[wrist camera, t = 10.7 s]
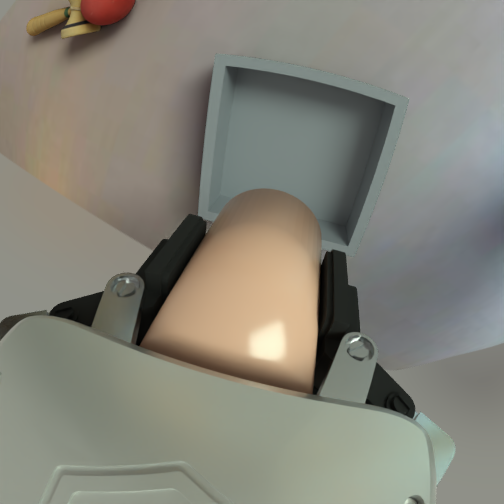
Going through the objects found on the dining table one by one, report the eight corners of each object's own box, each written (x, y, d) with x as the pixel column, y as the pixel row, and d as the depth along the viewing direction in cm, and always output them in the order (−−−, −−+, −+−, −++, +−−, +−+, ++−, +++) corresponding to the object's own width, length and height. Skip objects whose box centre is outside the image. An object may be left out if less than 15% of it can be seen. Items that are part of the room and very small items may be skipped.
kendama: (47, 53, 27) (137, 34, 23) (12, 52, 21) (95, 23, 17) (59, 7, 23) (153, -24, 20) (25, 2, 18) (116, -43, 14)
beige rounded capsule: (335, 204, 12) (342, 367, 6) (305, 290, 15) (285, 438, 9) (221, 177, 13) (122, 307, 6) (212, 266, 16) (147, 399, 9)
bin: (394, 94, 23) (409, 98, 19) (350, 231, 32) (354, 257, 28) (232, 55, 24) (215, 53, 20) (213, 197, 34) (197, 217, 30)
